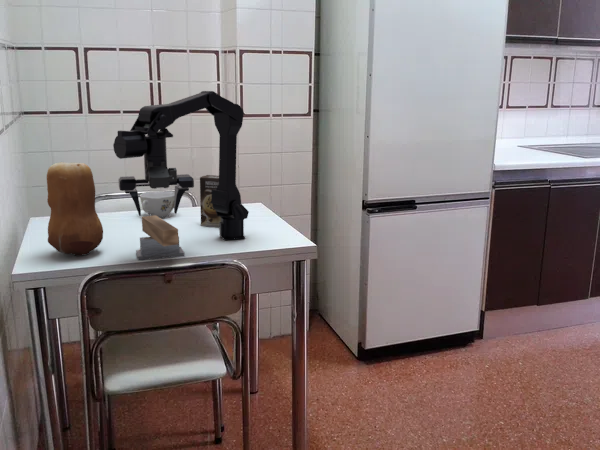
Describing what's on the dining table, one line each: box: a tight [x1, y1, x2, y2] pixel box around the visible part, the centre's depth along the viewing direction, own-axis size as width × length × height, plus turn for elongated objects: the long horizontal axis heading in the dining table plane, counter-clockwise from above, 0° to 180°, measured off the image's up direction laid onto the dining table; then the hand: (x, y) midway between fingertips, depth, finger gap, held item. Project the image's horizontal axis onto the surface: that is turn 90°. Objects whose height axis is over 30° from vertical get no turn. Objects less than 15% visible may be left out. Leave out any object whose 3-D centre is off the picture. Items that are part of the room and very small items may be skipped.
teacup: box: [139, 190, 175, 218], centre depth 198 cm, size 15×12×8 cm
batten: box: [141, 215, 180, 246], centre depth 153 cm, size 4×18×4 cm, turn 32°
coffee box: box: [199, 174, 221, 228], centre depth 187 cm, size 9×6×16 cm
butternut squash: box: [46, 161, 104, 257], centre depth 152 cm, size 14×13×25 cm
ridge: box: [135, 235, 185, 261], centre depth 154 cm, size 12×6×5 cm, turn 111°
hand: (157, 214), depth 152 cm, fingers open, 9 cm apart
